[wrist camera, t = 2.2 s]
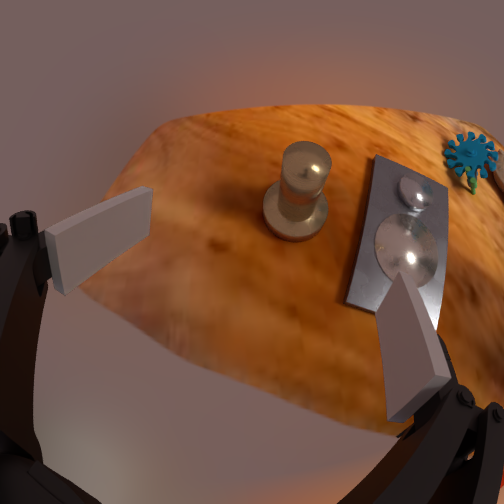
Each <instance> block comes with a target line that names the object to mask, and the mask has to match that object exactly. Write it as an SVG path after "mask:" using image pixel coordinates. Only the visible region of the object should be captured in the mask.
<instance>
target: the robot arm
mask: <svg viewBox="0 0 504 504" xmlns="http://www.w3.org/2000/svg"><path fill="white" fill-rule="evenodd" d="M152 196H153V189H151V188H148V187H144V186H141V187H138V188H136V189H133V190H130V191H128V192H125V193H123V194H120V195H118V196H115V197H113V198H111V199H108V200H106V201H104V202H101V203H99V204H97V205H94V206H92V207H90V208H88V209H85V210H83V211H81V212H79V213H77V214H75V215H73V216H70V217H68V218H66V219H64V220H62V221H60V222H58V223H56V224H54V225H52V226H50V227H48V228H46V229H45V230H44V231H42V232H40V233H38V226H37V218H36V213H35V212H33V211H28V210H27V211H21V212H18V213H15V214H14V215H12V216H11V217H10V218H9V220H10V226H11V233H12V236H11V235H8V231H7V225H6V224H3V223H0V504H102V503H101V502H99V501H98V500H97V499H96V498H94V497H93V496H91V495H89V494H88V493H86V492H85V491H84V490H82V489H81V488H79V487H78V486H77V485H75V484H74V483H73V482H71V481H69V480H67V479H66V478H64V477H63V476H61V475H59V474H58V473H56V472H55V471H53V470H52V469H50V468H48V467H47V466H46V465H44V464H43V458H42V452H41V447H40V444H39V441H38V439H37V437H36V435H35V432H34V427H33V390H34V389H33V388H34V372H35V361H36V351H37V344H38V337H39V330H40V324H41V318H42V313H43V308H44V304H45V299H46V294H47V290H48V284H47V280H48V279H50V278H51V277H52V279H53V283H54V288H55V289H56V290H57V291H59V292H60V293H62V294H63V295H65V296H66V295H67V294H68V293H70V292H71V291H72V290H73V289H75V288H76V287H77V286H79V285H80V284H81V283H83V282H84V281H85V280H87V279H88V278H89V277H91V276H92V275H93V274H95V273H96V272H97V271H99V270H100V269H101V268H103V267H104V266H106V265H107V264H108V263H110V262H111V261H113V260H114V259H115V258H117V257H118V256H120V255H121V254H122V253H124V252H125V251H127V250H128V249H130V248H131V247H133V246H134V245H136V244H137V243H138V242H140V241H141V240H143V239H144V238H146V237H147V236H149V234H150V219H151V207H152ZM375 316H376V322H377V328H378V334H379V341H380V348H381V356H382V364H383V373H384V382H385V394H386V408H387V421H391V422H399V423H404V422H405V421H406V420H407V419H409V418H410V417H411V416H412V415H414V423H413V424H412V425H411V426H409V427H408V428H407V429H406V430H404V431H403V432H402V433H400V434H399V435H398V436H396V437H397V438H399V437H401V438H400V439H399V440H398V441H397V443H396V444H395V445H394V446H393V447H392V449H391V450H390V451H389V452H388V453H387V454H386V456H385V457H384V458H383V459H382V460H381V461H380V462H379V463H378V464H377V466H376V467H375V468H374V469H373V470H372V471H371V472H370V473H369V474H368V475H367V476H366V477H365V478H364V479H363V480H362V481H361V482H360V483H359V484H358V485H357V486H356V487H355V488H354V489H353V490H352V491H350V492H349V493H348V494H347V495H346V496H345V497H344V498H343V499H342V500H340V501H339V502H338V503H337V504H497V500H498V495H499V490H500V486H501V480H502V474H503V467H504V409H503V407H502V406H500V405H499V404H498V403H496V402H491V403H490V404H489V405H488V406H487V407H486V408H485V409H484V410H483V409H481V408H479V407H477V406H475V399H474V397H473V395H472V393H471V392H470V391H469V389H468V388H466V387H465V386H463V385H460V384H458V381H457V378H456V374H455V371H454V368H453V365H452V362H451V361H450V360H451V359H450V356H449V354H448V351H447V348H446V345H445V343H444V342H443V340H442V339H441V337H440V336H439V335H438V334H436V331H435V328H434V326H433V323H432V321H431V318H430V316H429V313H428V311H427V309H426V306H425V304H424V302H423V299H422V297H421V295H420V293H419V290H418V288H417V286H416V284H415V282H414V280H413V277H412V275H410V274H407V273H404V272H402V271H399V272H398V274H397V275H396V277H395V279H394V281H393V283H392V285H391V287H390V288H389V290H388V292H387V294H386V296H385V297H384V299H383V301H382V303H381V304H380V306H379V308H378V309H377V311H376V313H375ZM473 451H474V455H473V457H472V458H471V459H470V460H467V458H468V455H469V454H470V453H472V452H473Z"/></svg>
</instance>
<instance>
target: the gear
mask: <svg viewBox="0 0 504 504" xmlns="http://www.w3.org/2000/svg"><path fill="white" fill-rule="evenodd" d="M456 137H457V140H458V141H459V142H460V145H459V146H455V142H454V140H450V141H449V142H448V145H449V147H450V148H452V149H454V150H455V151H456V152H455V153H452V152H451V151H450V150H449V149H446V150H445V153H444V154H445V157H446V158H455V159H457V160H456V161H454V160H452V159H448V160H447V163H448V167H449V168H453V167H455V166H463V167H456V168H455V173H456V175H457V176H459V177H461V176H462V174H463V173H464V172H465V171H466V175H467V178H468V179H467V183H468V186H469V187H471V192H472V194H473V195H474V194H475V193H476V192H475V188H476V187H477V175H478V172H477V169H478V168H480V169H481V170H480V177H481V178H487V177H488V175H487V171H486V170H485V168H484V164H489V168H490V170H491V171H494V170H496V163H495V162H492V161H491V160H489V159H488V156H490V157H492V159H493V160H494V161H497V160H498V152H496V151H494V152H492V151H488V150H486V149H490V150H495V148H494V143H493V141H490V142H488V143H485V142H486V137H485V136H484V135H483V134H480V135H479V138H478V139H476V140H474V139H475V134H474V133H473V132H468V139H467V140H466V141H465V142H463V141H464V137H463V134H458V135H456ZM472 140H474V141H472ZM481 143H485V144H481Z"/></svg>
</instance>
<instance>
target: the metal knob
mask: <svg viewBox="0 0 504 504" xmlns="http://www.w3.org/2000/svg"><path fill="white" fill-rule="evenodd" d="M331 165H332V162H331V158H330V155H329V154H328V152H327V151H326V150H325V149H324V148H323V147H321V146H320V145H318V144H316V143H313V142H308V141H300V142H295V143H293V144H291V145H289V146H288V147H287V148H286V150H285V151H284V154H283V162H282V170H281V178H280V180H279V181H277V182H276V183H274V184H273V185H272V186H271V187H270V188H269V189H268V190H267V192H266V194H265V196H264V200H263V218H264V222H265V224H266V226H267V228H268V229H269V230H270V231H271V232H272V233H273V234H274V235H275V236H276V237H278V238H280V239H282V240H284V241H288V242H303V241H307V240H309V239H311V238H313V237H314V236H315V235H316V234H317V233H318V232H319V231H320V230H321V228H322V226H323V224H324V222H325V220H326V218H327V215H328V203H327V200H326V197H325V195H324V194H323V192H322V190H323V187H324V185H325V182H326V179H327V177H328V174H329V172H330V169H331Z"/></svg>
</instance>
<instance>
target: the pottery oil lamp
mask: <svg viewBox="0 0 504 504" xmlns="http://www.w3.org/2000/svg"><path fill="white" fill-rule="evenodd" d="M491 161H492V162H495V163H496V170H494V171H493V173H494V179H495V182H496V183H497V185H498V187H499V188H500V190H501V191H502V192H504V152H503V151H502V150H501V149H499V151H498V160H497V161H494V160H493V159H492V157H491Z"/></svg>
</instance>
